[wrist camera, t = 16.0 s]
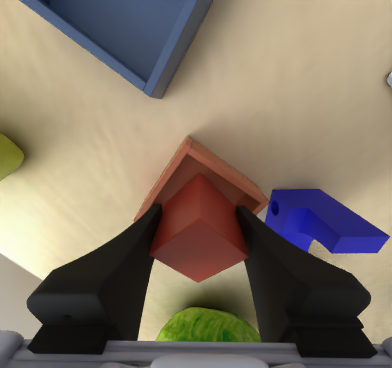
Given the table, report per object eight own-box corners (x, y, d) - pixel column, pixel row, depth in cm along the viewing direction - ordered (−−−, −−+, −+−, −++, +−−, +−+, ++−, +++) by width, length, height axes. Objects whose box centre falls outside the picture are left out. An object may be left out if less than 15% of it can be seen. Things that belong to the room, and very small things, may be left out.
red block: (199, 171, 11) (199, 217, 7) (233, 203, 13) (250, 257, 9) (164, 202, 13) (147, 255, 9) (198, 227, 14) (198, 283, 10)
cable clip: (272, 189, 15) (316, 237, 9) (319, 189, 15) (390, 236, 9) (253, 268, 20) (274, 326, 15) (287, 267, 20) (320, 326, 15)
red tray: (256, 184, 14) (270, 202, 12) (206, 234, 17) (208, 257, 15) (187, 135, 12) (184, 142, 10) (144, 201, 15) (132, 221, 13)
